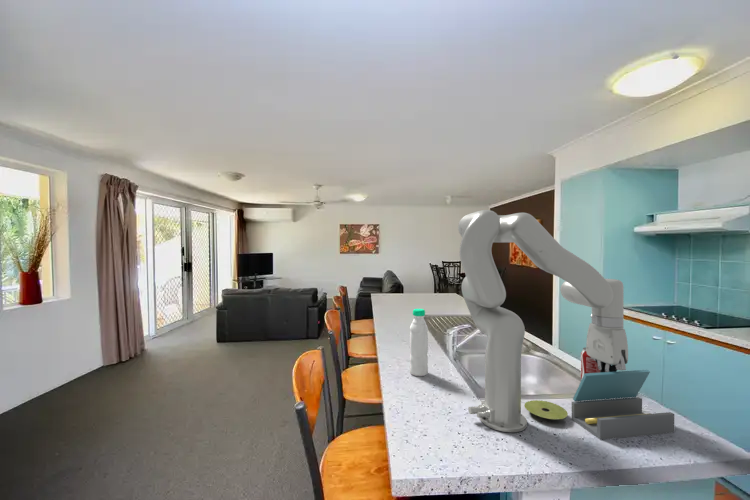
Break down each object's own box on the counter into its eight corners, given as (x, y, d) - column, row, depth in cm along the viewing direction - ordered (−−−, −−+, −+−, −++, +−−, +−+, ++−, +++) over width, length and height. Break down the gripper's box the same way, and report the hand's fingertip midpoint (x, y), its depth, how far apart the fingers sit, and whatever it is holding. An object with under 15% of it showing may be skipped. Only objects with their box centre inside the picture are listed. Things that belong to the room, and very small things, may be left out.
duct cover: (586, 375, 89) (584, 373, 90) (574, 401, 94) (572, 399, 94) (650, 371, 92) (647, 369, 93) (635, 397, 97) (633, 394, 97)
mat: (516, 407, 101) (516, 400, 101) (551, 405, 102) (551, 399, 102) (538, 427, 90) (538, 419, 90) (577, 424, 91) (577, 417, 91)
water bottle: (430, 372, 128) (430, 308, 128) (423, 378, 123) (423, 311, 122) (414, 368, 132) (414, 306, 132) (406, 374, 126) (406, 309, 126)
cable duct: (600, 439, 84) (600, 420, 84) (571, 419, 94) (571, 401, 94) (674, 432, 87) (674, 414, 87) (638, 413, 97) (638, 396, 97)
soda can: (606, 387, 115) (606, 353, 115) (585, 385, 116) (585, 351, 116) (597, 379, 122) (597, 347, 122) (577, 378, 123) (577, 346, 123)
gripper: (575, 316, 102) (575, 375, 102) (619, 328, 87) (619, 397, 87) (596, 315, 103) (596, 373, 103) (643, 327, 88) (643, 395, 88)
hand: (607, 384), depth 95 cm, fingers closed
